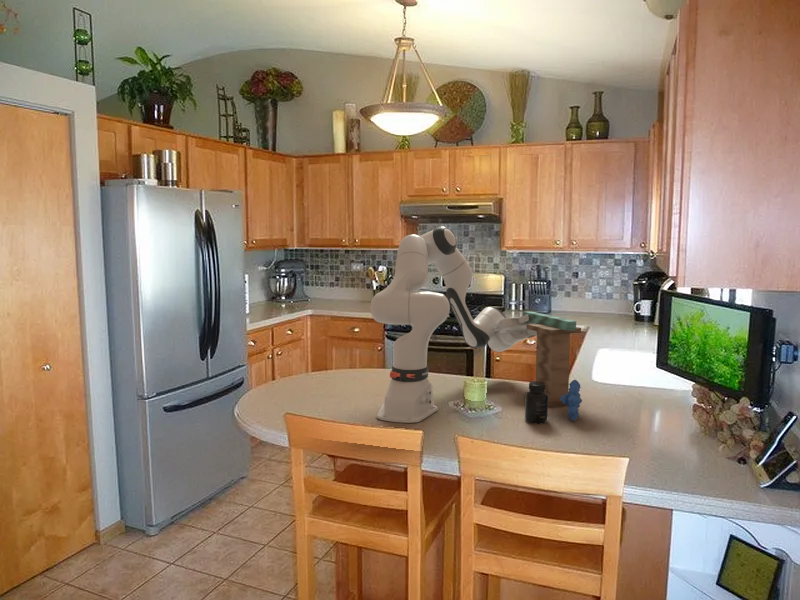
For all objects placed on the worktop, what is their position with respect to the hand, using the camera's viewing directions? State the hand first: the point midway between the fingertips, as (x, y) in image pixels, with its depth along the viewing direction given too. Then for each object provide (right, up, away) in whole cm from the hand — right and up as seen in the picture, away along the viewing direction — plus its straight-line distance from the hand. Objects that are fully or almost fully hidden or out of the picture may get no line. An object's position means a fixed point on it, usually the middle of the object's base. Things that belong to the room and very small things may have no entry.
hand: (534, 315), depth 212 cm
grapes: (+5, -31, -26) cm, 41 cm away
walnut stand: (+4, -29, -7) cm, 30 cm away
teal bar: (+3, -3, -7) cm, 8 cm away
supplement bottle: (-6, -32, -29) cm, 43 cm away
